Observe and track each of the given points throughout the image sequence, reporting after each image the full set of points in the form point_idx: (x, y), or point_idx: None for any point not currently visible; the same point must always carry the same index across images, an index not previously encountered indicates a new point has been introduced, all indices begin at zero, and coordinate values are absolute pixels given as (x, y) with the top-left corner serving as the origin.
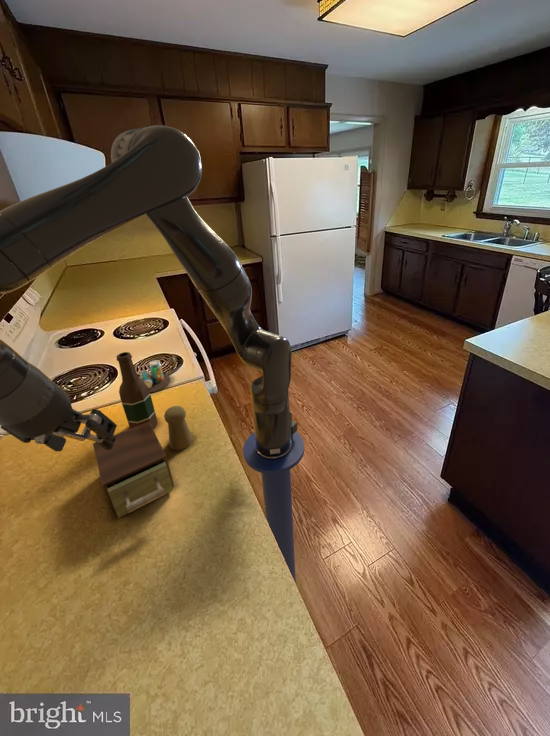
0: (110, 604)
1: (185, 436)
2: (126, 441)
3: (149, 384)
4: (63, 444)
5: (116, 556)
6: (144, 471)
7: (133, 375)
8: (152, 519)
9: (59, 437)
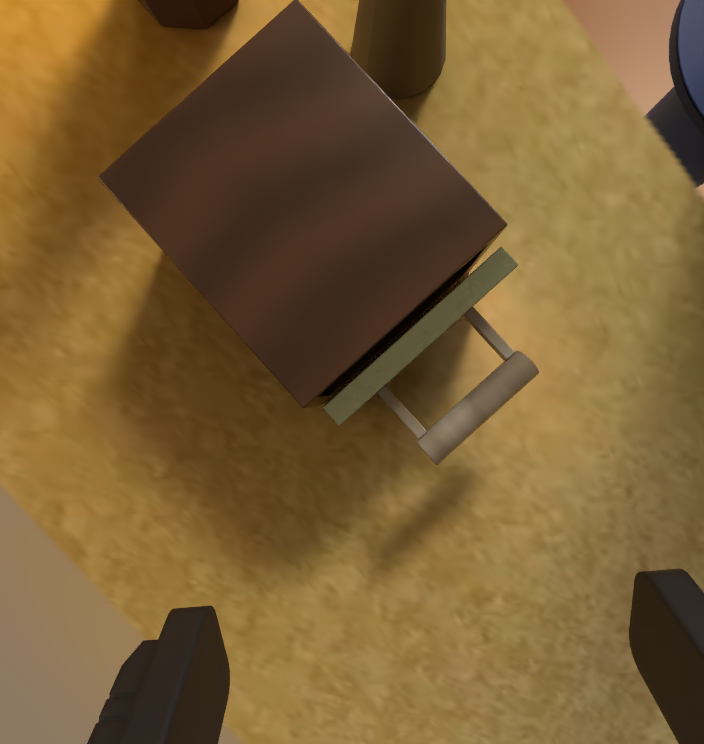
0: (467, 653)
1: (441, 38)
2: (258, 149)
3: None
4: (217, 644)
5: (405, 529)
6: (436, 308)
7: None
8: (455, 402)
9: (186, 697)
